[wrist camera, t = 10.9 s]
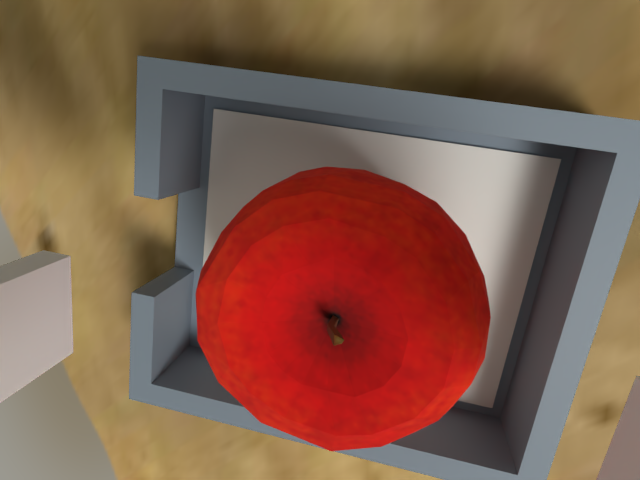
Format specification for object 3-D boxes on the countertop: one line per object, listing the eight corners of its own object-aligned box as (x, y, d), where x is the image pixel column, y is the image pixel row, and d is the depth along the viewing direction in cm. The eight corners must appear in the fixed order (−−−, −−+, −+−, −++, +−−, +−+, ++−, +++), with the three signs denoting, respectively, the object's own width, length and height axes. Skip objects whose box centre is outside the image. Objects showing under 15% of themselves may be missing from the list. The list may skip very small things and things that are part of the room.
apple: (293, 367, 21) (231, 495, 14) (232, 189, 20) (125, 228, 12) (488, 330, 19) (536, 459, 12) (435, 126, 18) (453, 126, 10)
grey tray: (195, 70, 20) (137, 55, 16) (602, 124, 18) (664, 124, 13) (179, 349, 24) (129, 398, 20) (513, 427, 21) (538, 503, 17)
